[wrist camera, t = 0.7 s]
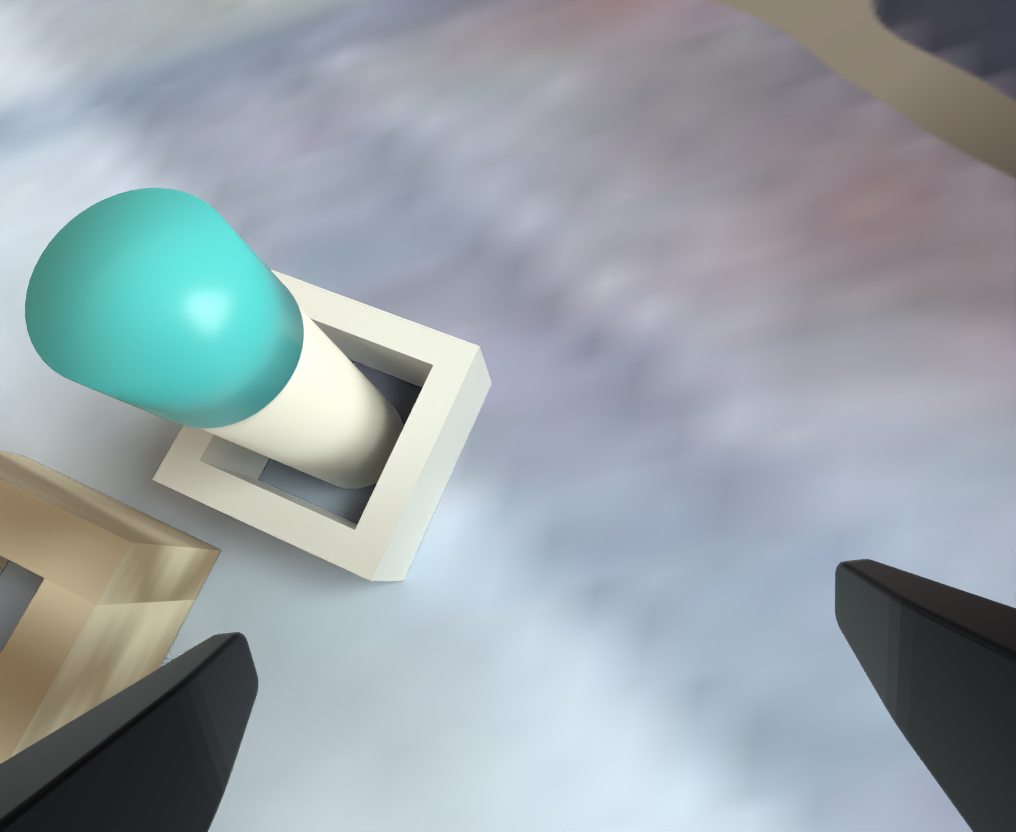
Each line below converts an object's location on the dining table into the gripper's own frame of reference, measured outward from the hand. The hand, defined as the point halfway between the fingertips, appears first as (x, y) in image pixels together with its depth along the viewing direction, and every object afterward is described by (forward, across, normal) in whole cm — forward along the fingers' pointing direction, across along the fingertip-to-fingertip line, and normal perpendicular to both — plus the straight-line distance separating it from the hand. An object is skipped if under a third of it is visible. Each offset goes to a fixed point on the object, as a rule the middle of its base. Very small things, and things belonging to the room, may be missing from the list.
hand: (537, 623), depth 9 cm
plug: (+15, +7, +1) cm, 16 cm away
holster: (+15, +7, +1) cm, 16 cm away
